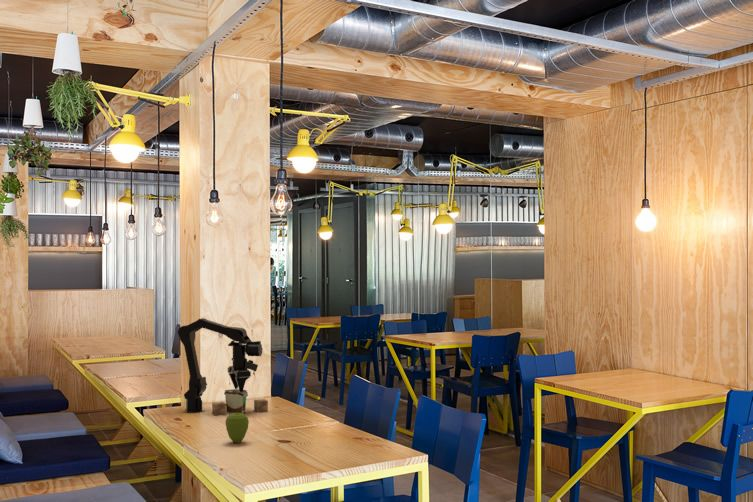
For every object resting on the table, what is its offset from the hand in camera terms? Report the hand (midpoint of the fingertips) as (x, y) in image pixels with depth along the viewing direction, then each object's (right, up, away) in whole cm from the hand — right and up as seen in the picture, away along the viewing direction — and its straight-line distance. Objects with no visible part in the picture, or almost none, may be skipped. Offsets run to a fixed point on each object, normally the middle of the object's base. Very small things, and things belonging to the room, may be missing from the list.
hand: (238, 390), depth 325 cm
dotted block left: (-8, -10, -4) cm, 13 cm away
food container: (0, -10, 0) cm, 10 cm away
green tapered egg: (+10, -9, -57) cm, 59 cm away
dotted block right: (+9, -10, +3) cm, 14 cm away
